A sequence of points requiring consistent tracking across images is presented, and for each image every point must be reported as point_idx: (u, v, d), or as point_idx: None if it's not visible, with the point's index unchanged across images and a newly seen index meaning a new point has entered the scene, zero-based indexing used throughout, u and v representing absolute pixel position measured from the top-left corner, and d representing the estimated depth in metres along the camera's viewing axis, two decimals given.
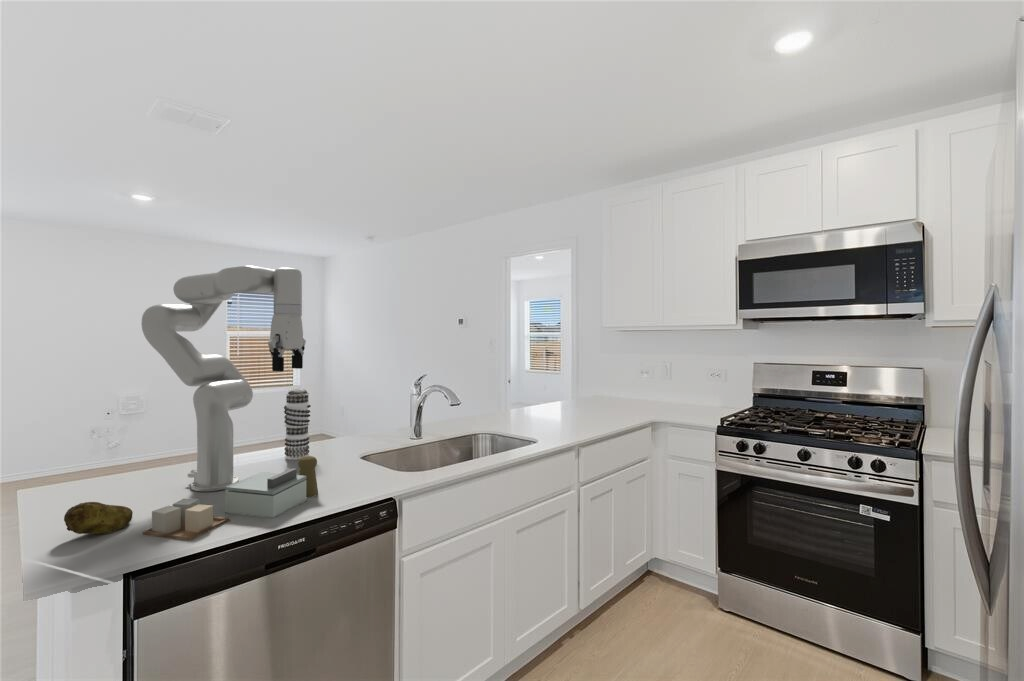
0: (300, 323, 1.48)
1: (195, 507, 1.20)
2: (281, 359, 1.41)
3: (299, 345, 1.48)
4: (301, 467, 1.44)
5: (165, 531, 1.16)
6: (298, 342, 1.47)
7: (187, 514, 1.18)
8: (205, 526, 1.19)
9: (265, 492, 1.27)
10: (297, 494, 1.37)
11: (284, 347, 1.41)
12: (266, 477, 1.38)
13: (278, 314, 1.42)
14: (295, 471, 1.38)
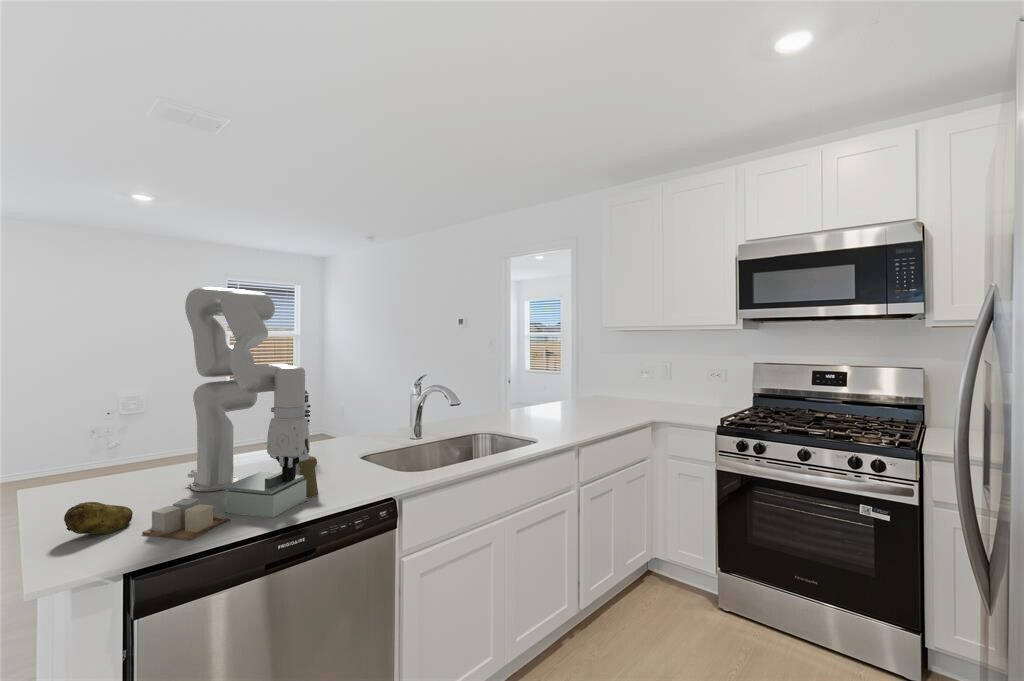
0: None
1: (195, 507, 1.20)
2: None
3: None
4: (301, 467, 1.44)
5: (165, 531, 1.16)
6: None
7: (187, 514, 1.18)
8: (205, 526, 1.19)
9: (262, 492, 1.27)
10: (297, 494, 1.37)
11: None
12: (264, 477, 1.38)
13: (300, 417, 1.32)
14: None
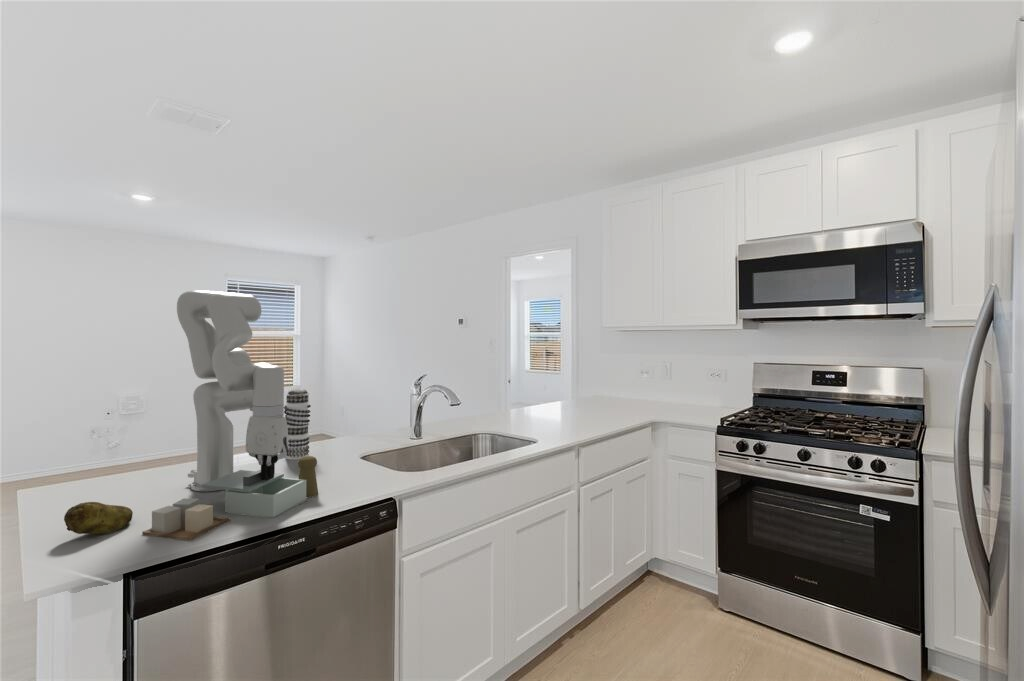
0: None
1: (195, 507, 1.20)
2: None
3: None
4: (301, 467, 1.44)
5: (165, 531, 1.16)
6: None
7: (187, 514, 1.18)
8: (205, 526, 1.19)
9: (240, 490, 1.29)
10: (297, 494, 1.37)
11: None
12: (243, 475, 1.40)
13: (279, 416, 1.33)
14: None
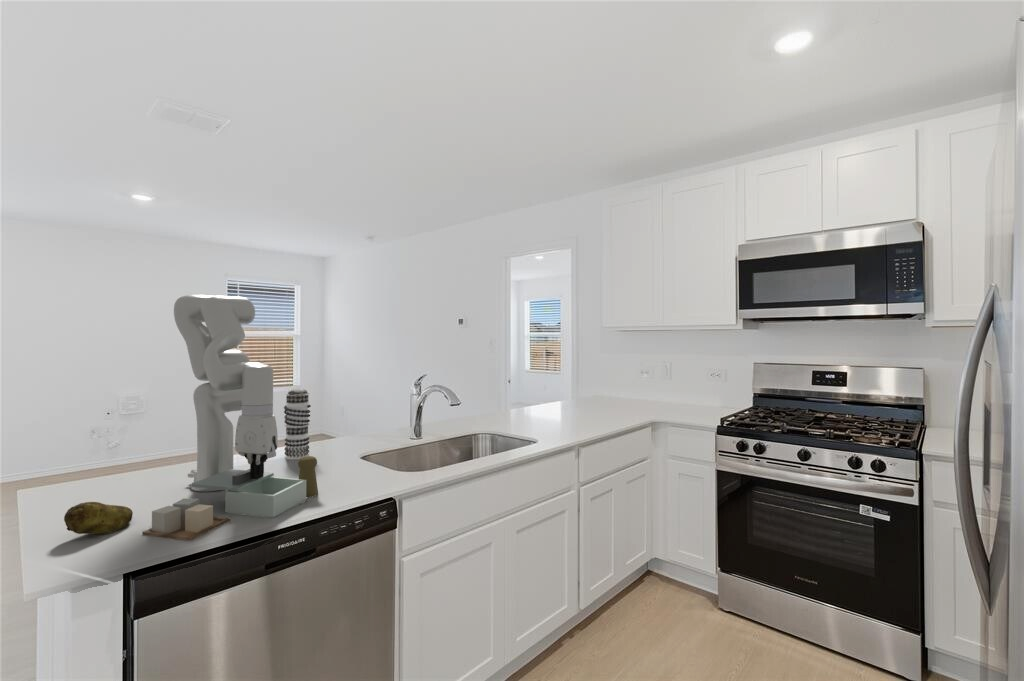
0: None
1: (195, 507, 1.20)
2: None
3: None
4: (301, 467, 1.44)
5: (165, 531, 1.16)
6: None
7: (187, 514, 1.18)
8: (205, 526, 1.19)
9: (229, 489, 1.29)
10: (297, 494, 1.37)
11: None
12: (233, 474, 1.40)
13: (268, 415, 1.34)
14: None
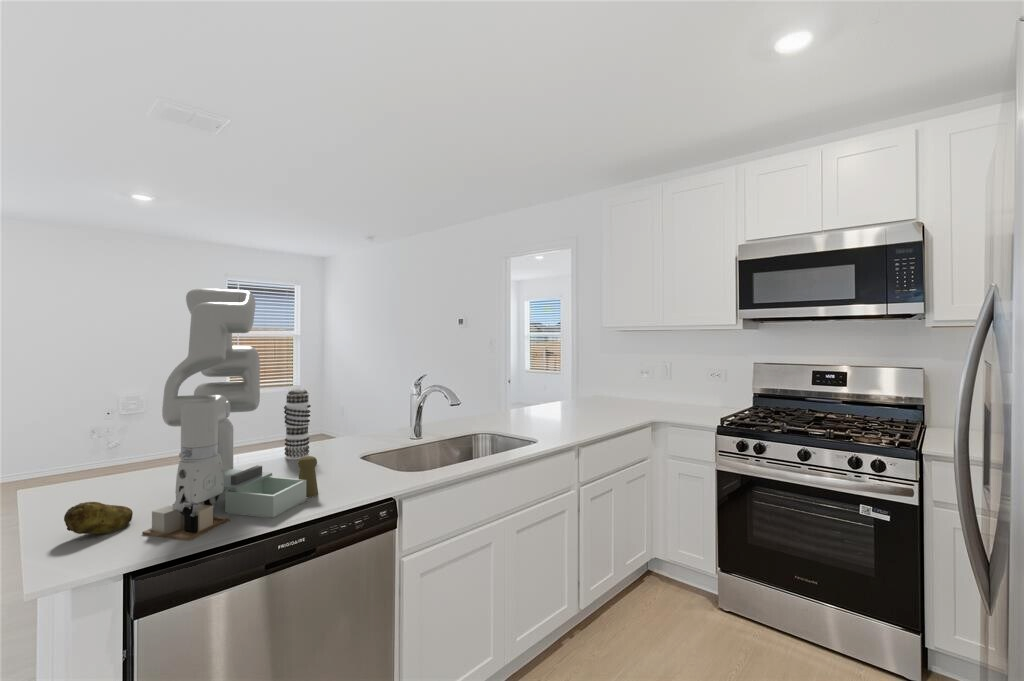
0: None
1: None
2: None
3: None
4: (301, 467, 1.44)
5: (165, 531, 1.16)
6: None
7: None
8: (205, 526, 1.19)
9: (228, 488, 1.29)
10: (297, 494, 1.37)
11: None
12: (232, 474, 1.40)
13: None
14: (260, 468, 1.40)
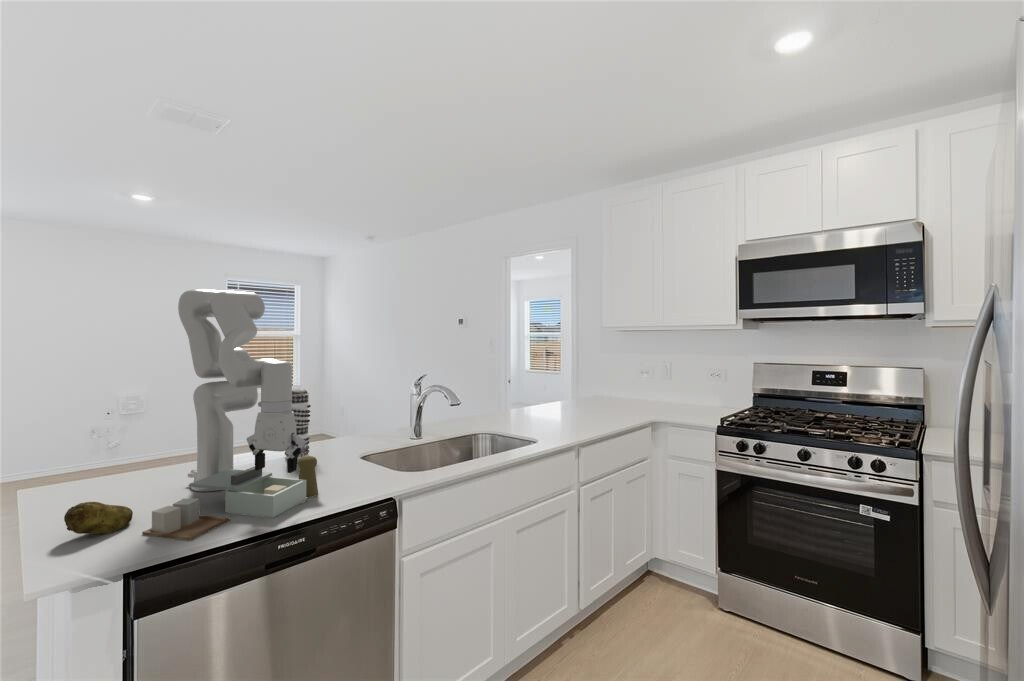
0: None
1: (278, 486, 1.36)
2: None
3: None
4: (301, 467, 1.44)
5: (165, 531, 1.16)
6: None
7: None
8: None
9: (228, 488, 1.29)
10: (297, 494, 1.37)
11: None
12: (232, 474, 1.40)
13: (287, 412, 1.33)
14: None
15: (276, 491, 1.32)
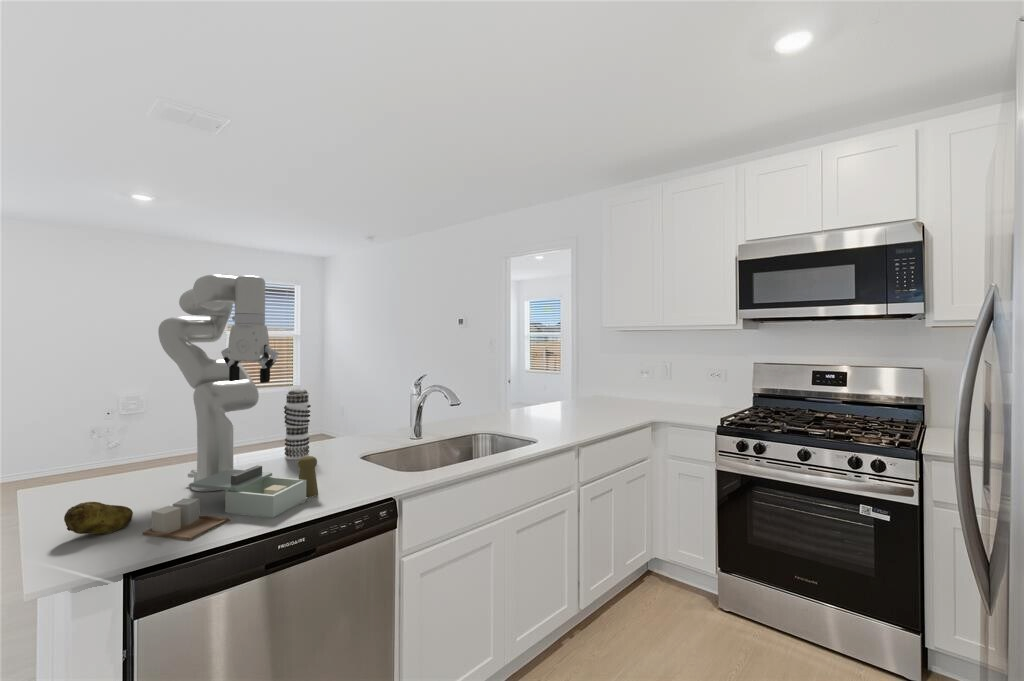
0: None
1: (278, 486, 1.36)
2: None
3: None
4: (301, 467, 1.44)
5: (165, 531, 1.16)
6: None
7: None
8: None
9: (228, 488, 1.29)
10: (297, 494, 1.37)
11: None
12: (232, 474, 1.40)
13: (260, 324, 1.38)
14: (260, 468, 1.40)
15: (276, 491, 1.32)
